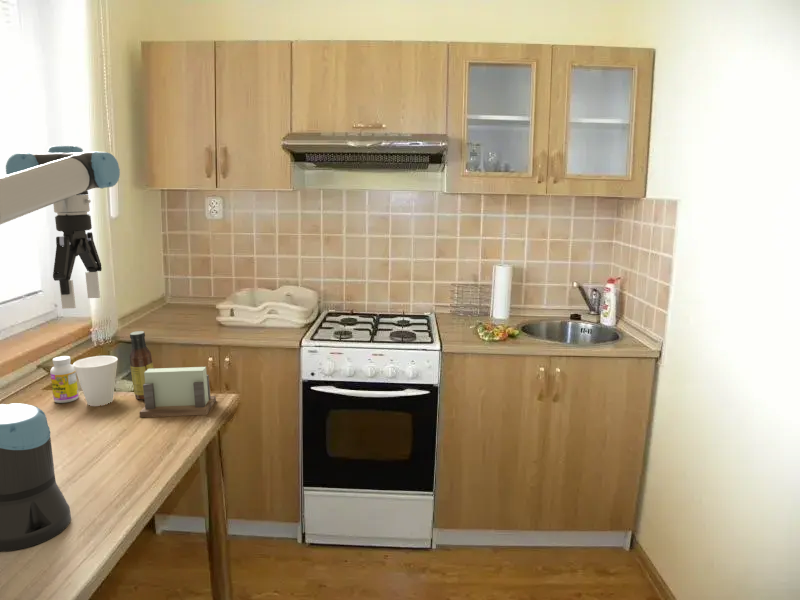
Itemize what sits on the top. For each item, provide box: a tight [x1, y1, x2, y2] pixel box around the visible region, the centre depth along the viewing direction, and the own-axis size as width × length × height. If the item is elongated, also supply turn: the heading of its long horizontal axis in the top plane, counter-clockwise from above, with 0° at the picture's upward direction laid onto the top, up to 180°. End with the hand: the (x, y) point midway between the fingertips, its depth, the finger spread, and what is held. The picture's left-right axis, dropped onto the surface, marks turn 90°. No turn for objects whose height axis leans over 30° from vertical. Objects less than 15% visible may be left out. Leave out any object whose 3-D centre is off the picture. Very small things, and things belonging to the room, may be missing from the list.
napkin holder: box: [139, 374, 217, 418], centre depth 184 cm, size 11×18×8 cm, turn 93°
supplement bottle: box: [49, 355, 80, 404], centre depth 192 cm, size 7×7×13 cm
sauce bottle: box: [129, 330, 154, 401], centre depth 193 cm, size 7×6×20 cm
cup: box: [72, 355, 119, 407], centre depth 190 cm, size 12×12×12 cm
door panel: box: [144, 366, 209, 407], centre depth 183 cm, size 4×16×10 cm, turn 93°
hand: (82, 302), depth 157 cm, fingers open, 13 cm apart
